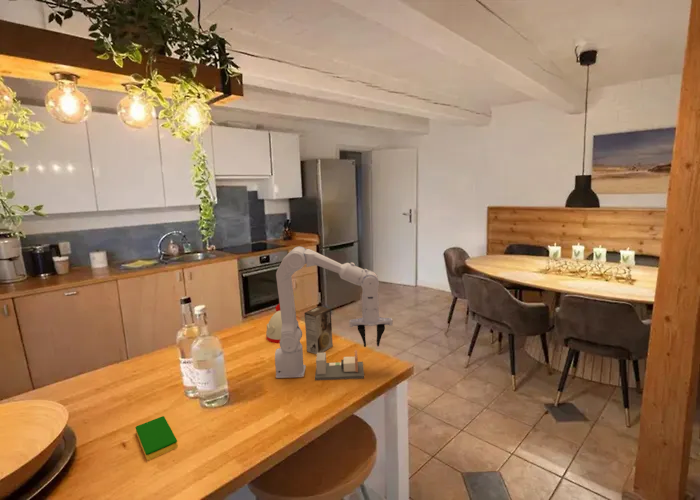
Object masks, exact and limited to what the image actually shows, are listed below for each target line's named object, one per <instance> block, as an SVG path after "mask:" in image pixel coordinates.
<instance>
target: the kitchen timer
mask: <svg viewBox="0 0 700 500" xmlns="http://www.w3.org/2000/svg"><path fill="white" fill-rule="evenodd" d="M275 311H276V312H274V313H273V315H272V316H271V317H270V319H269V321H268V323H266V334H265V335H266V340H267V342H269V343H273V344H280V340H281V329H282V319H281V311H280V303H279V302H278V304H277V305H276V306H275Z"/></svg>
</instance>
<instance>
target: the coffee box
mask: <svg viewBox="0 0 700 500" xmlns="http://www.w3.org/2000/svg"><path fill="white" fill-rule="evenodd" d="M304 326H305V341H306V351H307V352H308V353H311V354H314V355H317V353H325V352H326V351H327V350H329V349H331V348H332V347H333V345H334V344H333V332H332V331H333V329H332V311H331V308H328V307H325V306H322V305H321V306H320V305H318V306H316V307H314V308H312V309H310V310H307V311H306V312H304Z"/></svg>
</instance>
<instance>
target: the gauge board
mask: <svg viewBox="0 0 700 500" xmlns="http://www.w3.org/2000/svg"><path fill="white" fill-rule="evenodd" d="M315 365H316V366H315V373H314V374H315V375H314V381H330V380H331V381H332V380H334V381H335V380H336V381H337V380H359V379H361V380H362V379H365V372H364V371H365V370H364V362H363V361H358V372H356V371H354V372H344V369H341V362H339V361H337V362H327V353H326V351H324V352H323V353H317V354H316V357H315Z"/></svg>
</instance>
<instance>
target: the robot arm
mask: <svg viewBox="0 0 700 500" xmlns="http://www.w3.org/2000/svg"><path fill="white" fill-rule="evenodd" d="M305 265H306V268H309V267H313V266H316V267H317V266H318V267H320V268H323V269H326V270H327V271H330V272H334V273H337V274H338V276H339V277H340V279H341V280H344V281H346V282H349V283H351V284H353V285H356V286H359V287H361V289H362V290H361V291H362V293H361V316H362V317H358V318H353V319H349V327H350V328H353V327H357V331H358V333H359V335H360V337H361V339H362V343H363V347H364V348H366V347H367V341H366V326H368V327H376V346H377V347H380V344H381V338H382V336H383V334H384V332H385V329H386V328H385V326H393V325H394V324H393V318H392V317H380V304H379V303H380V301H379V300H380V299H379V297H380V296H379V288H380V287H379V286H380V282H379V281H380V280H379V277H378V275H377V274H376V273H375V272H374V271H373V270H372V269H371V270H370V269H367V268H364V269H363V268H362V267H359V266H357V265H355V263H354V262H351V261H350V263H349V262H344V263H340V262H338V261H336V260H334V259H332V258H330V257H328V256H326V255H323V254H321V253H319V252H317V251H315V250H313V249H309V248H305V247H304V246H296V247H294V248H293V249H291V250H289V252H288V253H287V254H286V255H285V256H284V257H283V258H282V261H281V263H280V264H279V266H278V268H277V270H276V272H275V278H276V285H277V293H278V304H279V303H280V311H281V319H282V329H281V340H280V343H279V348H276V349H275V352H274V364H275V378H276V379H284V378H285V379H286V378H287V379H289V378H291V379H292V378H303V377H304V376H305V373H306V372H305V371H306V367H307V366H306V364H304V352H303V344H302V343H301V339H302V337H303V331H302V329H301V327H300V325H299V321H298V319H297V312H296V303H295V295H294V288H293V277H292V276H293V275H294V274H295V273H296V272H298V271H300V270H301V269H302V268H303V267H304V266H305Z"/></svg>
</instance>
